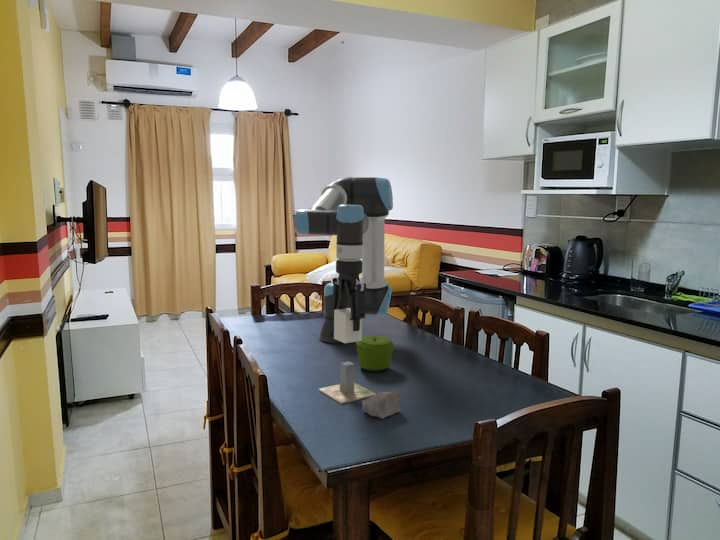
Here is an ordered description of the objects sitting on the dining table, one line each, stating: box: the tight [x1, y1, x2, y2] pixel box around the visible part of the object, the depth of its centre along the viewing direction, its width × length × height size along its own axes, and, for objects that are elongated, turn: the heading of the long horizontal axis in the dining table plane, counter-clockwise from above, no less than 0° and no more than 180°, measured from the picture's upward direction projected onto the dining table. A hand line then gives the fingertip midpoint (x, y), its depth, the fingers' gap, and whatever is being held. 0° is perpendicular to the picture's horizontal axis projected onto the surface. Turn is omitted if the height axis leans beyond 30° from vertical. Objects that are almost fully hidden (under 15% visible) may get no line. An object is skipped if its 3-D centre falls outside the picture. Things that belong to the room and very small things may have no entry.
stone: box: [361, 391, 402, 420], centre depth 142 cm, size 8×10×6 cm
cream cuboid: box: [334, 308, 363, 344], centre depth 153 cm, size 6×6×9 cm
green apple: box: [355, 335, 395, 372], centre depth 177 cm, size 12×12×11 cm
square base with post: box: [318, 361, 376, 405], centre depth 155 cm, size 12×12×9 cm
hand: (347, 338), depth 154 cm, fingers closed on cream cuboid, 6 cm apart
